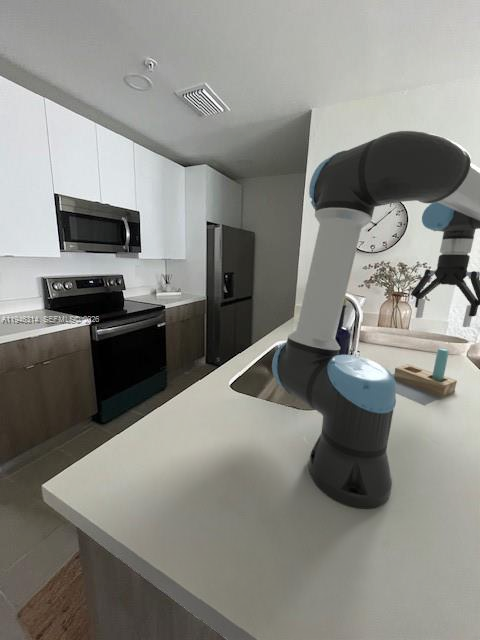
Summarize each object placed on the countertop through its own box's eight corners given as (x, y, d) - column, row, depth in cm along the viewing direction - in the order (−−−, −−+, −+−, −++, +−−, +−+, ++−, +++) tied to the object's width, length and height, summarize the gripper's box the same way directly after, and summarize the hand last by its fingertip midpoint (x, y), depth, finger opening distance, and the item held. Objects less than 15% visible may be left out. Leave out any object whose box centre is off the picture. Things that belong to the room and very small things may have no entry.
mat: (424, 406, 81) (424, 405, 81) (369, 382, 97) (370, 381, 96) (455, 392, 91) (455, 391, 91) (402, 372, 106) (402, 371, 106)
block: (442, 397, 87) (445, 385, 86) (393, 377, 100) (395, 367, 99) (454, 391, 91) (456, 380, 90) (405, 373, 104) (407, 364, 103)
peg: (438, 391, 90) (446, 351, 87) (428, 388, 93) (435, 349, 90) (442, 389, 92) (450, 350, 88) (432, 386, 94) (440, 347, 91)
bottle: (342, 376, 101) (352, 296, 94) (350, 387, 92) (361, 300, 86) (317, 374, 102) (325, 295, 95) (322, 385, 93) (331, 299, 86)
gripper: (513, 254, 74) (495, 329, 79) (418, 254, 95) (408, 313, 100) (502, 253, 71) (484, 332, 75) (406, 253, 92) (396, 315, 96)
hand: (440, 321), depth 88 cm, fingers open, 13 cm apart
